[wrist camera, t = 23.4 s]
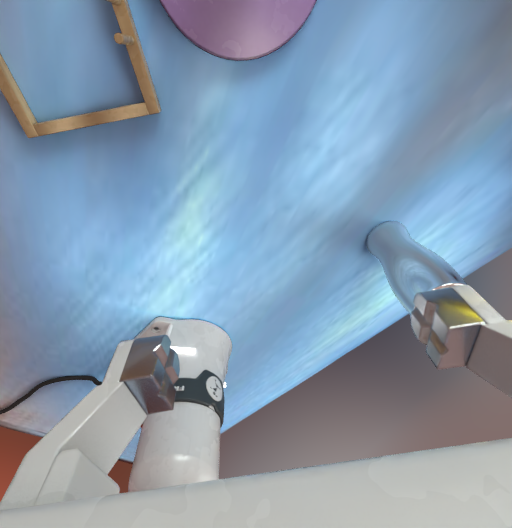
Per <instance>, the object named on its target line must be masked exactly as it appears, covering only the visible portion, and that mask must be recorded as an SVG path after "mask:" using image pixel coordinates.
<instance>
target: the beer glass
mask: <svg viewBox="0 0 512 528" xmlns="http://www.w3.org/2000/svg"><path fill="white" fill-rule="evenodd" d="M366 246H367V249H368V251H369V252H370V253H371V254H372V255H373V256H375V257H376V258H377V259H378V260H379V261H380V263H381V265H382V267H383V270H384V272H385V275H386V278H387V280H388V283H389V285H390V287H391V289H392V291H393V293H394V294H395V296H396V297H397V299H398V300H399V302H400V303H401V304H402V306H403V307H404V308H405V309H406V311H407V312H408V313H409V314H410V315H411V312H412V311H413V310H414V309H415V308H416V306H415V304H414V303H413V300H414V296H415V295H416V293H420V292H425V291H431V290H437V289H443V288H449V287H454V286H460V285H465V284H466V285H467V283H466V282H465V281H464V280H463V279H462V277H461V276H460V275H459V274H458V273H457V272H456V271H455V269H454V268H453V267H452V266H451V265H450V264H449V263H447V262H446V261H445V260H444V259H443V258H442V257H440V256H439V255H437V254H436V253H435V252H433V251H431V250H430V249H428V248H426V247H425V246H423V245H421V244H420V243H418V242H416V241H415V240H414V239H413V238H412V237H411V236H410V234H409V232H408V230H407V229H406V227H405V226H404V225H403V224H402V223H400V222H397V221H387V222H384V223H381V224H379V225H378V226H376V227H375V228H374V229H373V230H372V231H371V232H370V233H369V235H368V237H367V241H366Z"/></svg>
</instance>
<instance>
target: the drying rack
mask: <svg viewBox="0 0 512 528" xmlns="http://www.w3.org/2000/svg"><path fill="white" fill-rule="evenodd" d="M106 1H108V2H111V3H112V6H113V9H114V12H115V15H116V18H117V21H118V24H119V27H120V30H121V33H116V34H115V35H114V39H115V41H116V43H118V44H122V45H126V47H127V50H128V53H129V56H130V59H131V62H132V65H133V68H134V71H135V74H136V77H137V80H138V83H139V86H140V89H141V92H142V95H143V98H144V101H145V102H141V103H136V104H131V105H126V106H121V107H116V108H111V109H106V110H101V111H96V112H91V113H85V114H80V115H75V116H70V117H65V118H60V119H55V120H50V121H45V122H40V123H37V121H36V119H35V117H34V115H33V114H32V112H31V110H30V108H29V106H28V104H27V102H26V100H25V99H24V97H23V95H22V93H21V91H20V89H19V87H18V86H17V84H16V82H15V80H14V78H13V76H12V74H11V72H10V71H9V69H8V67H7V65H6V63H5V61H4V59H3V58H2V56H1V54H0V89H1V91H2V93H3V94H4V96H5V98H6V100H7V102H8V103H9V105H10V107H11V109H12V110H13V112H14V114H15V116H16V117H17V119H18V121H19V123H20V124H21V126H22V128H23V130H24V132H25V133H26V135H27V137H28V138H33V137H38V136H43V135H48V134H53V133H58V132H63V131H68V130H73V129H78V128H84V127H89V126H94V125H99V124H104V123H109V122H114V121H119V120H124V119H129V118H135V117H140V116H145V115H150V114H155V113H159V112H161V108H160V104H159V101H158V98H157V95H156V92H155V88H154V85H153V82H152V79H151V75H150V72H149V69H148V66H147V63H146V59H145V56H144V53H143V50H142V47H141V43H140V40H139V37H138V34H137V31H136V27H135V24H134V21H133V18H132V14H131V11H130V8H129V5H128V2H127V0H106Z"/></svg>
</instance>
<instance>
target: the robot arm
mask: <svg viewBox="0 0 512 528" xmlns="http://www.w3.org/2000/svg"><path fill="white" fill-rule="evenodd" d="M413 303H414V304H415V306H416V308H415V309H414V310H413V311H412V312H411V319H410V321H411V326H412V330H413V332H414V334H415V336H416V337H417V339H418V340H419V341H420V342H422V343H424V344H426V345H427V348H426V353H427V354H428V356H429V358H430V359H431V361H432V362H433V363H434V365H435V367H436V368H437V369H446V368H454V367H462V366H466V368H468V369H469V370H471V371H472V372H474V373H475V374H477V375H478V376H480V377H481V378H483V379H484V380H485V381H487V382H489V383H490V384H492V385H493V386H495V387H496V388H497V389H499V390H500V391H502V392H503V393H505V394H506V395H508V396H509V397H511V398H512V320H508V321H506V320H505V319H504V318H503V317H502V316H501V315H500V314H499V313H498V312H497V311H495V310H494V309H493V308H492V307H491V306H490V305H489V304H488V303H487V302H486V301H485V300H484V299H483V298H482V297H481V296H480V295H479V294H478V293H477V292H476V291H475V290H474V289H472V287H470V286H468V285H466V284H465V285H460V286H454V287H449V288H443V289H437V290H431V291H425V292H420V293H416V295H415V296H414V300H413ZM157 327H158V328H157ZM231 351H232V342H231V339H230V337H229V336H228V335H227V333H226V332H225V331H224V330H222V329H221V328H220V327H218V326H216V325H214V324H212V323H209V322H206V321H202V320H194V319H186V320H175V319H171V318H166V317H157V318H155V319H154V320H153V321H152V322H151V323H150V324H149V325H148V326H147V327H146V328H144V329H143V330H142V331H141V332H140V333H139V334H138V335H137V336H136V337H135V338H134V339H133V340H125V341H121V342H120V343H119V344H118V345H117V348H116V350H115V353H114V355H113V358H112V360H111V362H110V365H109V367H108V370H107V372H106V375H105V377H104V380H103V382H100V381H98V380H97V379H96V378H95V377H92V376H65V377H59V378H55V379H51V380H47V381H45V382H42V383H40V384H38V385H37V386H35V387H34V388H33V389H32V390H31V391H30V392H28V393H27V394H26V395H25V396H23V397H22V398H20V399H19V400H17V401H16V402H15V403H13V404H12V405H10V406H9V407H7V408H5V409H3V410H0V414H2V413H5V412H7V411H9V410H11V409H12V408H14V407H15V406H17V405H18V404H20V403H21V402H22V401H24V400H25V399H27V398H28V397H30V396H31V395H32V394H33V393H34V392H35V391H37V390H38V389H39V388H41V387H43V386H45V385H48V384H51V383H55V382H60V381H66V380H90V381H93V382H94V384H96V385H98V386H96V387H95V388H94V389H93V390H92V391H91V392H90V393H89V394H88V395H87V396H86V397H85V398H84V399H83V400H82V401H81V402H80V403H78V404H77V405H76V406H75V407H74V408H73V409H72V410H71V411H70V412H69V413H68V414H67V415H66V416H65V417H64V418H63V419H62V420H61V421H60V422H59V423H58V424H57V425H56V426H55V427H54V428H53V429H52V430H50V431H49V432H48V433H47V434H46V435H45V436H44V437H43V438H42V439H41V440H40V441H39V442H38V443H37V444H36V445H35V446H34V447H33V448H32V449H31V450H30V451H29V452H28V453H27V454H26V455H25V457H24V459H23V460H22V463H21V464H20V466H19V468H18V470H17V472H16V474H15V476H14V478H13V480H12V482H11V483H10V485H9V487H8V489H7V491H6V493H5V495H4V497H3V499H2V501H1V502H0V528H512V438H509V439H501V440H494V441H488V442H480V443H473V444H466V445H459V446H452V447H445V448H438V449H431V450H424V451H416V452H409V453H402V454H395V455H388V456H381V457H375V458H367V459H360V460H353V461H346V462H339V463H332V464H324V465H317V466H311V467H303V468H296V469H289V470H282V471H275V472H269V473H261V474H254V475H247V476H240V477H233V478H226V479H219V451H220V428H221V426H222V424H223V417H224V392H223V389H224V387H226V383H224V382H225V376H226V374H227V370H228V361H229V358H230V355H231ZM140 427H141V428H142V429H141V433H140V438H139V442H138V446H137V450H136V454H135V458H134V462H133V466H132V470H131V474H130V478H129V488H128V489H129V490H128V493H121V494H119V491H120V488H119V486H118V484H117V483H115V482H114V481H113V480H112V479H111V478H110V477H109V476H108V475H107V474H108V473H109V472H110V470H111V469H112V467H113V466H114V464H115V463H116V461H117V460H118V458H119V457H120V456H121V454H122V453H123V451H124V450H125V448H126V447H127V445H128V444H129V442H130V441H131V440H132V438H133V437H134V435H135V434H136V432H137V431H138V429H139V428H140Z"/></svg>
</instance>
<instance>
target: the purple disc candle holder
mask: <svg viewBox="0 0 512 528" xmlns="http://www.w3.org/2000/svg"><path fill="white" fill-rule="evenodd" d="M316 1H317V0H160V2H161V4H162V6H163V8H164V9H165V11H166V13H167V14H168V16H169V17H170V19H171V20H172V21H173V23H174V24H175V25H176V27H177V28H178V29H179V30H180V31H181V32H182V33H183V34H184V35H185V36H186V37H187V38H188V39H189V40H190V41H191V42H193V43H194V44H195V45H196V46H198V47H199V48H201V49H203V50H204V51H206V52H208V53H210V54H212V55H214V56H217V57H220V58H224V59H228V60H236V61H241V60H252V59H257V58H260V57H263V56H266V55H268V54H270V53H272V52H274V51H276V50H277V49H279V48H280V47H282V46H283V45H284V44H286V43H287V42H288V41H289V40H290V39H291V38H292V37H293V36H294V35H295V34H296V33H297V32H298V30H299V29H300V28H301V27H302V26H303V24H304V23H305V21H306V19H307V18H308V16H309V15H310V13H311V11H312V9H313V7H314V5H315V3H316Z"/></svg>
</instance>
